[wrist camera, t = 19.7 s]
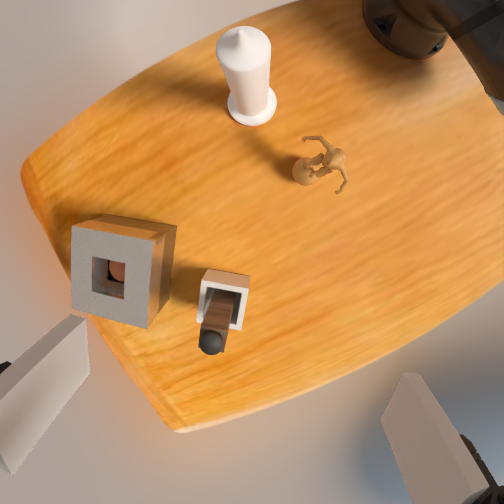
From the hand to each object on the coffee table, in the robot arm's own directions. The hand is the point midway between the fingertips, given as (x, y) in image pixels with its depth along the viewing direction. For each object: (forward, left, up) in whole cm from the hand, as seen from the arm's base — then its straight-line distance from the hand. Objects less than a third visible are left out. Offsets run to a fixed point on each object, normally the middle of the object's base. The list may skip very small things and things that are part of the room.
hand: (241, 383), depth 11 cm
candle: (-18, -4, -37) cm, 41 cm away
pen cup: (+11, -3, -37) cm, 38 cm away
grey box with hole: (+8, -18, -37) cm, 42 cm away
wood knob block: (+11, -3, -36) cm, 38 cm away
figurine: (-10, +6, -37) cm, 39 cm away
